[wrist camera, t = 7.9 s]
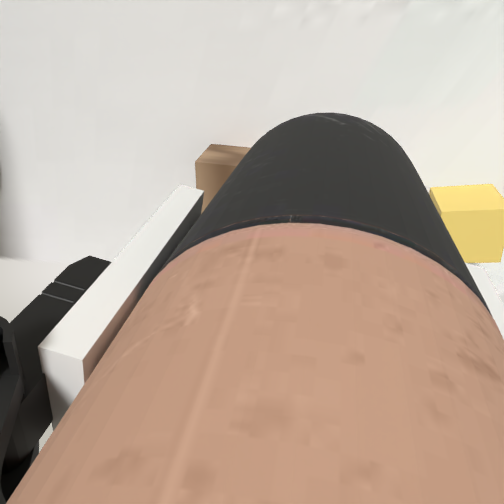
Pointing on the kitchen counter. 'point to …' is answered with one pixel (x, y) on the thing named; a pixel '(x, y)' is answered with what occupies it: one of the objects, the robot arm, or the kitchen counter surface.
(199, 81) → the kitchen counter surface
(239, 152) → the walnut cube
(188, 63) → the kitchen counter surface
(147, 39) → the kitchen counter surface
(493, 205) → the mustard cube
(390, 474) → the travel mug
